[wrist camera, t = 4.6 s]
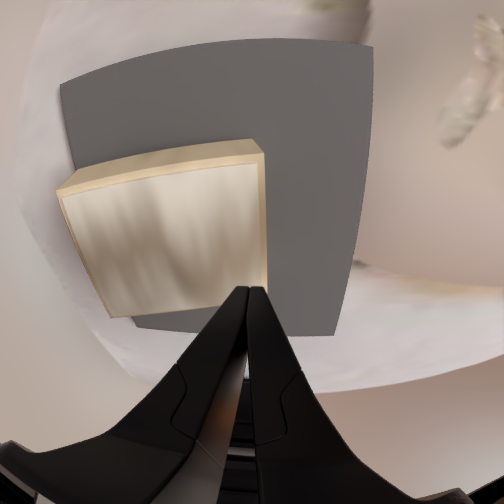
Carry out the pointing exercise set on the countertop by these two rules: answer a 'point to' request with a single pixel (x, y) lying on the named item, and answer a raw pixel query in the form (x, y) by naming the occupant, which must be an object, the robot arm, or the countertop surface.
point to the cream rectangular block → (170, 226)
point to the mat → (265, 136)
